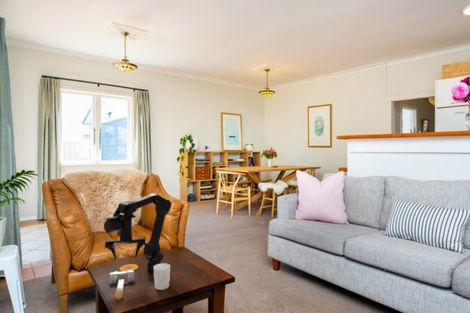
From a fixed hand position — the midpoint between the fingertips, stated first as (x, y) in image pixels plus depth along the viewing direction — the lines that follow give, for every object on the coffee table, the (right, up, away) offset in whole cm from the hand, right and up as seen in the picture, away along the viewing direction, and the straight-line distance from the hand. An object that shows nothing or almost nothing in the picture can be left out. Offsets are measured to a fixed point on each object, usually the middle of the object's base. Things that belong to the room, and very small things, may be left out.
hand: (125, 259), depth 150 cm
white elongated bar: (0, -12, -8) cm, 15 cm away
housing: (-3, -12, +4) cm, 13 cm away
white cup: (+19, -13, -3) cm, 23 cm away
